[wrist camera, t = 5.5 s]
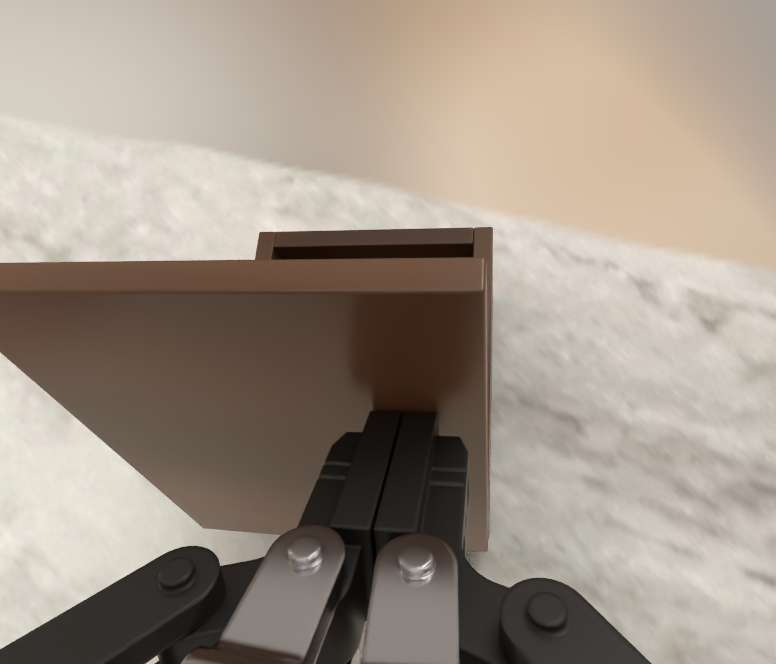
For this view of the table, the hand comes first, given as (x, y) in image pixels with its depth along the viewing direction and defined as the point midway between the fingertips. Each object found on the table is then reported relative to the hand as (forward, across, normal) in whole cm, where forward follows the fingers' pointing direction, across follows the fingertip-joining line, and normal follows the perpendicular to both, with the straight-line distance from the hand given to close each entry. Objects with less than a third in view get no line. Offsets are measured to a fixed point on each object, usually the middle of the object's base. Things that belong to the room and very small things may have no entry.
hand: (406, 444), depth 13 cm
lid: (+2, +4, +1) cm, 4 cm away
